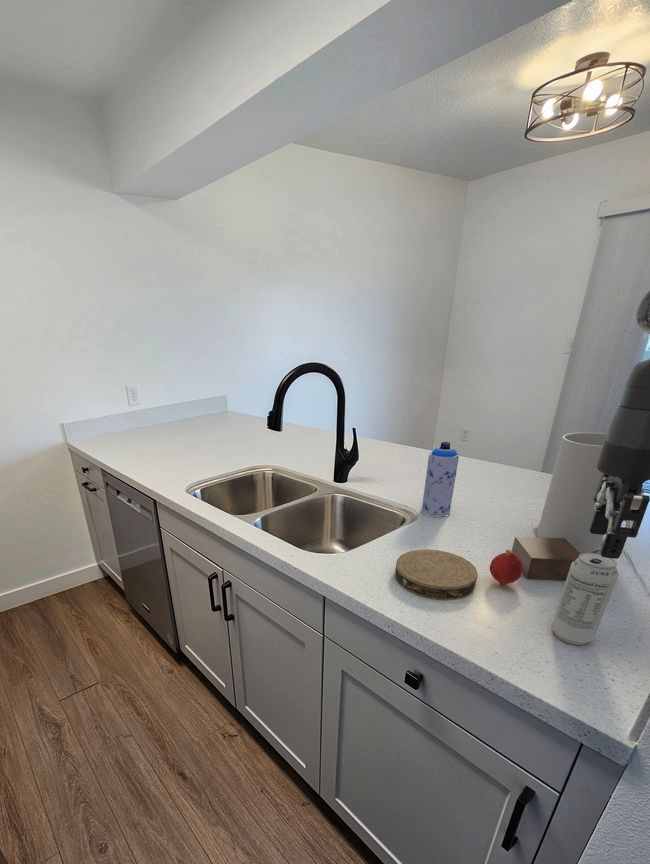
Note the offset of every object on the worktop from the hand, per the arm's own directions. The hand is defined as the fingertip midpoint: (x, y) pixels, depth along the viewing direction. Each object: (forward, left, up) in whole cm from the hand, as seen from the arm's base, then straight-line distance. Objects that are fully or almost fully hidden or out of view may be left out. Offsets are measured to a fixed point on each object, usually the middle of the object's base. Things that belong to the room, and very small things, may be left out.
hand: (602, 544), depth 67 cm
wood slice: (+23, -11, -18) cm, 31 cm away
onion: (+10, -14, -18) cm, 25 cm away
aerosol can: (+26, -49, -18) cm, 58 cm away
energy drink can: (0, 0, -18) cm, 18 cm away
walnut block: (+2, -24, -18) cm, 30 cm away
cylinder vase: (-4, -39, -18) cm, 43 cm away
